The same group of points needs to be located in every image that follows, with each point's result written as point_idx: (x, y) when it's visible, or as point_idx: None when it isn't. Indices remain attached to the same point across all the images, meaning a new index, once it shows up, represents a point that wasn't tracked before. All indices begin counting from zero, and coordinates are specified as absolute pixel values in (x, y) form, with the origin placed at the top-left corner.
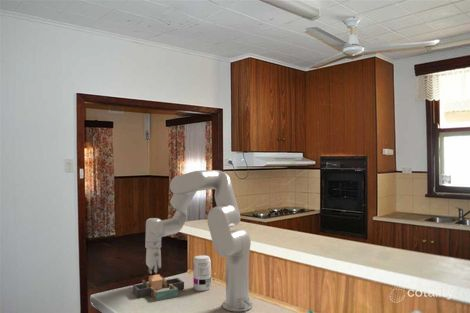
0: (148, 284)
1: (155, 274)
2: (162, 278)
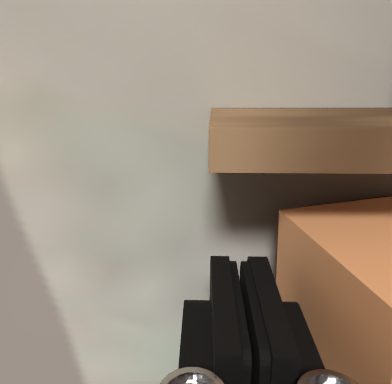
0: None
1: (294, 356)
2: (327, 165)
